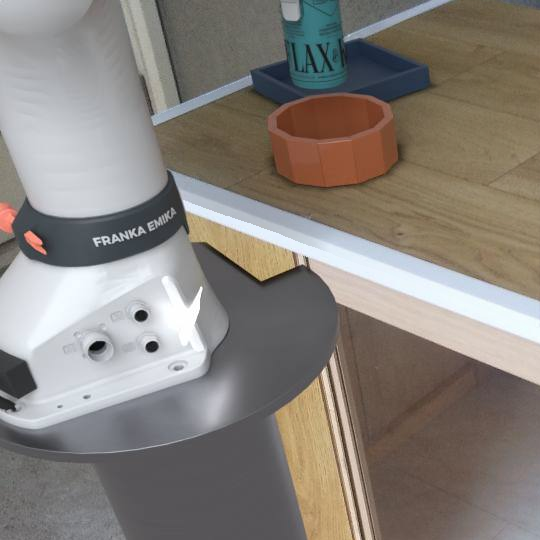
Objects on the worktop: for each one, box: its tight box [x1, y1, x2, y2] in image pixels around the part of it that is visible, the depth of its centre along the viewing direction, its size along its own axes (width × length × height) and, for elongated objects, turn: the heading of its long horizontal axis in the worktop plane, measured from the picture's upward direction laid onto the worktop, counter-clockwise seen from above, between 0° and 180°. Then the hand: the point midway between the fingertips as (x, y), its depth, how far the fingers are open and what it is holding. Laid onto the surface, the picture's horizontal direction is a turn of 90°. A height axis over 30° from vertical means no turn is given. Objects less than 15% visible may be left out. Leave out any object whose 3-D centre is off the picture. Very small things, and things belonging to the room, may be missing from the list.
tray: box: [249, 37, 431, 106], centre depth 130 cm, size 18×16×3 cm
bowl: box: [267, 92, 400, 188], centre depth 114 cm, size 14×14×5 cm
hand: (311, 8), depth 104 cm, fingers closed on beverage bottle, 6 cm apart
